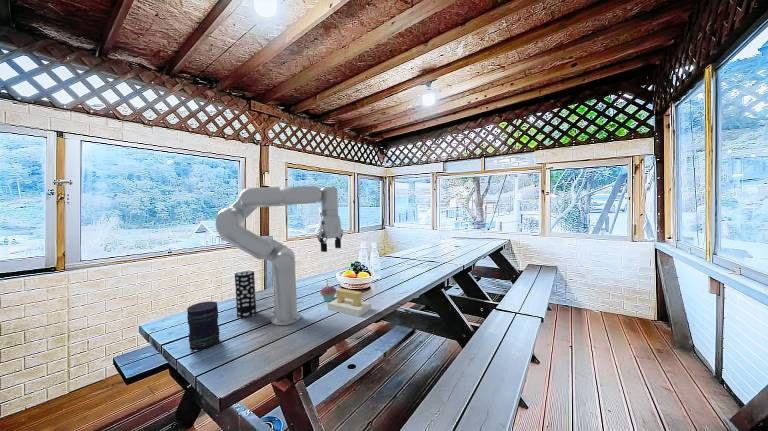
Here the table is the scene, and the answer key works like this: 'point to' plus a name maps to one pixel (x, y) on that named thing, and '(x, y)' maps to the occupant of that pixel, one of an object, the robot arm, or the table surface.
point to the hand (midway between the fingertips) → (331, 249)
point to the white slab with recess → (349, 307)
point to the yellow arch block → (349, 296)
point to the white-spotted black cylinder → (245, 294)
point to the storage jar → (203, 325)
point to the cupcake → (328, 292)
